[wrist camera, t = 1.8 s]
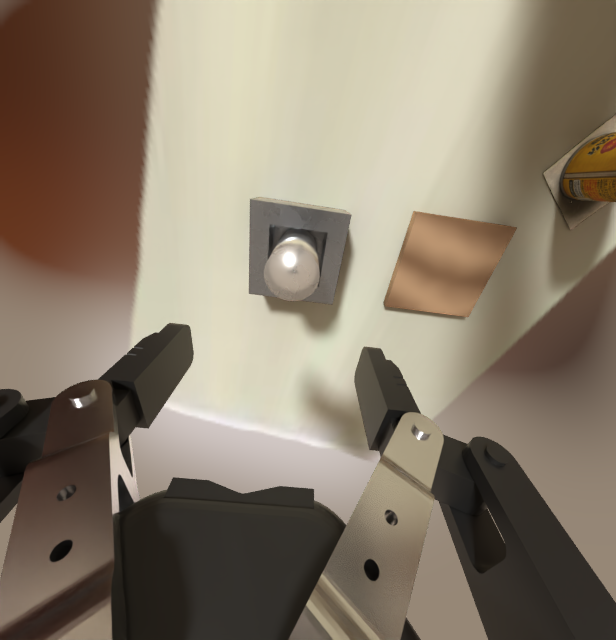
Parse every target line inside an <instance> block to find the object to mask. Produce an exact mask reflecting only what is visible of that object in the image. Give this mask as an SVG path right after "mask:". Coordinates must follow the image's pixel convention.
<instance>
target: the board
mask: <svg viewBox="0 0 616 640" xmlns="http://www.w3.org/2000/svg"><path fill="white" fill-rule="evenodd" d="M516 229H517V228H516V227H511V226H505V225H499V224H492V223H486V222H480V221H473V220H467V219H461V218H454V217H448V216H441V215H435V214H429V213H422V212H416V211H414V212H413V215H412V218H411V221H410V224H409V227H408V230H407V233H406V236H405V239H404V242H403V245H402V248H401V251H400V254H399V257H398V260H397V263H396V266H395V269H394V272H393V275H392V278H391V281H390V284H389V287H388V290H387V293H386V296H385V299H384V302H383V303H384V304H385V306H387V307H395V308H403V309H410V310H418V311H425V312H433V313H441V314H448V315H456V316H464V317H469V315H470V313H471V311H472V309H473V307H474V306H475V304H476V302H477V300H478V298H479V296H480V295H481V293H482V291H483V289H484V287H485V286H486V284H487V282H488V280H489V278H490V276H491V275H492V273H493V271H494V269H495V267H496V265H497V264H498V262H499V260H500V258H501V256H502V255H503V253H504V251H505V249H506V247H507V245H508V244H509V242H510V240H511V238H512V236H513V234H514V233H515V231H516Z"/></svg>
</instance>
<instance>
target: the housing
mask: <svg viewBox="0 0 616 640" xmlns="http://www.w3.org/2000/svg"><path fill="white" fill-rule="evenodd" d="M350 219H351V214H350V213H348V212H347V211H346V210H341V209H335V208H328V207H322V206H315V205H309V204H302V203H296V202H289V201H283V200H276V199H270V198H263V197H257V198H253V199H250V246H249V294H255V295H263V296H271V297H277V296H276V295H274V294H273V293H272V292H271V291H270V290H269V288H268V287H267V285H266V282H265V278H264V268H265V265H266V262H267V261H268V259H269V257H270V255H271V254H272V252H273V250H274V249H275V247H276V245H277V243H278V242H279V240H280V238H281V237H282V235H283V234H284V233H285V232H287V231H288V230H290V229H294V228H300V229H304V230H306V231H308V232H309V233H310V234H311V235H312V236H313V237H314V239H315V241H316V244H317V252H318V262H319V272H320V278H319V283H318V286H317V288H316V289H315V291H314V292H313V293H312V294H311V295H310V296H309V297H307V298H305V299H303V300H301V301H309V302H317V303H325V304H333V300H334V295H335V290H336V285H337V281H338V276H339V271H340V267H341V262H342V257H343V252H344V248H345V243H346V238H347V233H348V229H349V224H350ZM278 298H279V297H278Z"/></svg>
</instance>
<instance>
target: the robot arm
mask: <svg viewBox="0 0 616 640" xmlns="http://www.w3.org/2000/svg"><path fill="white" fill-rule="evenodd" d="M193 354H194V353H193V345H192V337H191V330H190V327H189V325H183V324H175V323H169V324H167V325H166V326H165V327H164V328H163V329H162V330H161V331H160V332H159V333H153V334H151V335H149V336H147V337H145V338H143V339H142V340H141V341H140V342H139V343H138V344H137V345H135V346H134V348H132V349H131V350H130V351H129V352H128V353H127V355H124V356H123V357H122V358H121V359H120V360H119V361H118V362H117V363H116V364H115V365H113V366H112V367H111V368H110V369H109V370H108V371H107V372H106V373H105V374H104V375H102V376H101V377H100V378H99V379H98V380H88V381H84V382H80V383H77V384H75V385H73V386H70V387H69V388H67V389H65V390H64V391H62V392H61V393H59V394H58V395H57V396H56V397H53V398H45V399H37V400H29V401H25V399H24V398H23V396H22V395H21V393H20V392H19V391H17V390H13V389H1V390H0V522H1V521H2V520H3V519H4V518H5V517H6V516H7V514H8V513H9V512H10V511H11V510H12V509H13V507H14V506H15V505H16V504H17V507H16V512H15V516H14V521H13V525H12V529H11V534H10V538H9V542H8V547H7V551H6V556H5V560H4V564H3V569H2V573H1V577H0V640H421V639H420V638H419V636H418V635H417V633H416V632H415V630H414V629H413V627H412V625H411V624H410V622H409V621H408V620H407V618H406V615H407V610H408V607H409V602H410V598H411V594H412V590H413V586H414V582H415V578H416V574H417V570H418V565H419V561H420V557H421V553H422V549H423V545H424V541H425V537H426V533H427V529H428V525H429V520H430V516H431V512H432V508H433V504H434V499H435V500H438V501H439V503H440V506H441V509H442V512H443V515H444V517H445V520H446V523H447V526H448V529H449V531H450V534H451V537H452V540H453V543H454V545H455V548H456V551H457V554H458V556H459V559H460V562H461V565H462V567H463V570H464V573H465V576H466V579H467V582H468V584H469V587H470V590H471V592H472V596H473V598H474V601H475V604H476V607H477V609H478V612H479V615H480V618H481V621H482V623H483V626H484V629H485V632H486V635H487V637H488V640H616V603H615V601H614V600H613V598H612V597H611V595H610V594H609V593H608V591H607V590H606V589H605V587H604V585H603V584H602V582H601V581H600V580H599V578H598V577H597V576H596V574H595V573H594V571H593V570H592V569H591V567H590V565H589V564H588V563H587V561H586V560H585V558H584V557H583V555H582V554H581V552H580V551H579V550H578V548H577V547H576V545H575V544H574V542H573V541H572V540H571V538H570V537H569V535H568V534H567V533H566V531H565V530H564V528H563V527H562V525H561V524H560V522H559V521H558V520H557V518H556V517H555V515H554V514H553V513H552V511H551V509H550V508H549V507H548V505H547V504H546V502H545V501H544V499H543V498H542V497H541V495H540V494H539V492H538V491H537V489H536V488H535V487H534V485H533V484H532V482H531V481H530V480H529V478H528V477H527V475H526V474H525V472H524V471H523V470H522V468H521V467H520V465H519V464H518V462H517V461H516V460H515V458H514V457H513V456H512V455H511V454H510V453H509V452H508V451H507V450H506V449H505V448H503V447H502V446H501V445H499V444H498V443H496V442H494V441H492V440H490V439H488V438H484V437H475V438H473V439H472V440H471V441H470V442H469V443H468V444H466V443H463V442H461V441H458V440H456V439H453V438H450V437H448V436H445V435H443V434H442V432H441V430H440V429H439V427H438V426H437V425H436V424H435V423H434V422H433V421H432V420H431V419H429V418H428V417H426V416H424V415H422V414H421V413H420V411H419V409H418V407H417V405H416V403H415V401H414V399H413V396H412V394H411V392H410V390H409V388H408V387H407V384H406V382H405V380H404V379H403V376H402V374H401V372H400V370H399V368H398V367H397V366H396V365H395V364H394V363H393V362H392V361H391V360H386V359H385V356H384V354H383V352H382V350H381V349H380V348H372V347H364V348H363V349H362V352H361V355H360V359H359V362H358V365H357V368H356V371H355V387H356V392H357V396H358V401H359V405H360V409H361V414H362V418H363V423H364V427H365V432H366V436H367V441H368V445H369V450H376V451H379V452H380V456H381V459H380V461H379V463H378V465H377V467H376V468H375V470H374V472H373V474H372V476H371V478H370V480H369V482H368V484H367V486H366V488H365V490H364V492H363V494H362V496H361V498H360V500H359V502H358V504H357V506H356V508H355V510H354V512H353V514H352V516H351V518H350V520H349V522H348V523H347V525H346V524H345V523H344V522H343V521H342V520H341V519H340V518H339V517H338V516H337V515H336V514H335V513H334V512H333V511H331V510H330V509H329V508H328V507H326V506H324V505H322V504H321V503H319V502H317V501H314V489H308V488H294V487H283V486H279V487H274V488H269V489H265V490H260V491H255V492H250V493H245V494H241V493H238V492H236V491H233V490H231V489H228V488H226V487H223V486H221V485H219V484H216V483H214V482H211V481H209V480H197V479H185V478H173V479H172V481H171V483H170V485H169V487H168V489H167V490H163V491H160V492H157V493H154V494H152V495H149V496H147V497H145V498H143V499H140V495H139V491H138V487H137V482H136V474H135V465H134V457H133V449H132V441H131V436H130V434H131V433H132V431H133V430H134V428H135V427H140V428H149V427H150V425H151V424H152V422H153V420H154V419H155V418H156V416H157V415H158V413H159V412H160V410H161V409H162V407H163V406H164V404H165V403H166V401H167V400H168V398H169V397H170V395H171V394H172V392H173V391H174V389H175V388H176V386H177V385H178V383H179V382H180V381H181V379H182V378H183V376H184V375H185V373H186V372H187V370H188V369H189V367H190V366H191V363H192V361H193ZM487 508H488V509H489V511H490V513H491V515H492V517H493V519H494V521H495V523H496V525H497V527H498V529H499V531H500V533H501V535H502V537H503V539H504V541H503V539H502V537H501V535H500V533H499V531H498V529H497V527H496V525H495V523H494V521H493V519H492V517H491V515H490V513H489V511H488V509H487ZM504 542H505V543H504Z"/></svg>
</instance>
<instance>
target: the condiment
mask: <svg viewBox="0 0 616 640" xmlns="http://www.w3.org/2000/svg"><path fill="white" fill-rule="evenodd" d="M543 174H544V176H545V179H546V181H547V183H548V186H549V188H550V189H551V192H552V194H553V196H554V197H555V200H556V202H557V204H558V206H559V207H560V209H561V212H562V214H563V216H564V219H565V220H566V222H567V223H568V225H569V228H570V230H572V229H573V228H575V227H576V226H577V225H578V224H579V223H581V222H582V221H584V220H585V219H586V218H588V217H589V216H591V215H592V214H593V213H595V212H596V211H597V210H599V209H600V208H602V207H603V206H605V205H606V204H608V202H616V115H614V116H613V117H612V118H611V119H609V120H608V121H607V122H605V123H604V124H603V125H602V126H601V127H599V128H598V129H597V130H595V131H594V132H593V133H591V134H590V135H589V136H588V137H586V138H585V139H584V140H583V141H581V142H580V143H579V144H578V145H577V146H575V147H574V148H573V149H572V150H571V151H569V152H568V153H567V154H566V155H564V156H563V157H562V158H561V159H560V160H559V161H558V162H556V163H555V164H554V165H553V166H551V167H550V168H549V169H548V170H546V171H545V172H544V173H543ZM571 201H572V203H571Z"/></svg>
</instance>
